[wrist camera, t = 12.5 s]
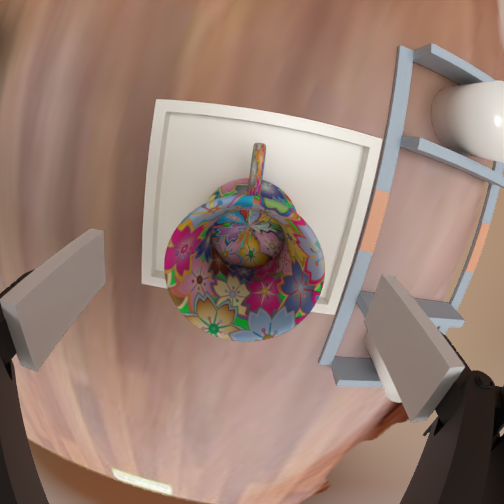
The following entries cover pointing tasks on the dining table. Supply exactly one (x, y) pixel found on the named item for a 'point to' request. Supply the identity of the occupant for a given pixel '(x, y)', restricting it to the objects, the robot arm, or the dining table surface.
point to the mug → (245, 261)
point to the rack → (440, 313)
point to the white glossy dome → (471, 119)
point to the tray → (275, 171)
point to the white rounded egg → (381, 369)
